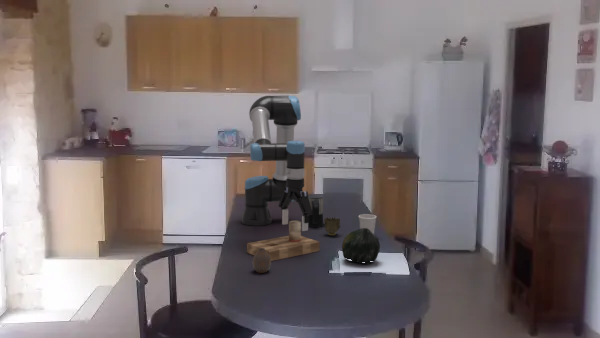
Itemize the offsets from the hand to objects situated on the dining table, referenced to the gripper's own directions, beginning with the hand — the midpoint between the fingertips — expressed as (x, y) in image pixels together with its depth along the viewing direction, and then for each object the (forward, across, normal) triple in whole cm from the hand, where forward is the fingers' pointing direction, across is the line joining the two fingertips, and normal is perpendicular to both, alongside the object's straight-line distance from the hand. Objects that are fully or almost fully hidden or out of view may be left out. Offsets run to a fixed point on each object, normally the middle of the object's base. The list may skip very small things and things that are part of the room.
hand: (294, 227), depth 266 cm
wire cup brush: (+10, -9, +29) cm, 32 cm away
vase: (+10, +17, -29) cm, 35 cm away
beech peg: (+9, 0, 0) cm, 9 cm away
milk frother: (+10, -27, +38) cm, 48 cm away
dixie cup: (+10, +3, +40) cm, 41 cm away
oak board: (+10, 0, -6) cm, 11 cm away
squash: (+10, +30, +10) cm, 33 cm away
